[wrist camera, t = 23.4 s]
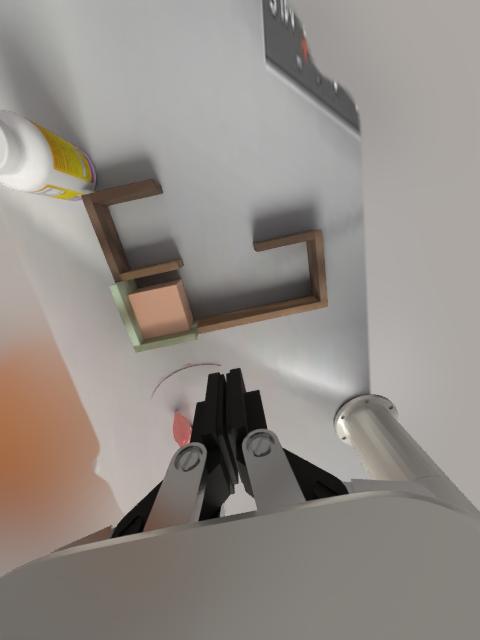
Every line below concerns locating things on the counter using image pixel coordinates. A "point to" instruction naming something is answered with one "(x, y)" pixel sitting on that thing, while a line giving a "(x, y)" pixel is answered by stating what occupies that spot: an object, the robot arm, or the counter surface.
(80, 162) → the supplement bottle
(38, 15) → the counter surface
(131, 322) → the box
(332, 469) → the counter surface
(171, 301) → the terracotta block
